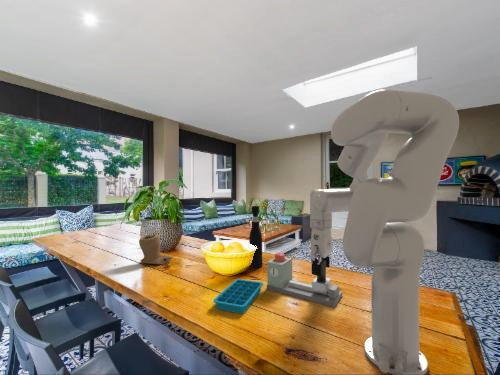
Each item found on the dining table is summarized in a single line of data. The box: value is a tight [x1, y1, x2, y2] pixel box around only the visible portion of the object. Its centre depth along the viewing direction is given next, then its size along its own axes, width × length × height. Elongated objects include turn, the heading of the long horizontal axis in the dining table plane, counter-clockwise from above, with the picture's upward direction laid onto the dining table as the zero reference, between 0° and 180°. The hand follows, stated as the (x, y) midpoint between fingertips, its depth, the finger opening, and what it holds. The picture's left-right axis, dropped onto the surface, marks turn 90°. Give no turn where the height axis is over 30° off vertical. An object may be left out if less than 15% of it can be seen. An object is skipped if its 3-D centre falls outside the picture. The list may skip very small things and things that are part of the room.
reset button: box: [274, 253, 286, 263], centre depth 97 cm, size 4×4×6 cm
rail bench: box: [266, 256, 343, 308], centre depth 91 cm, size 10×26×10 cm, turn 56°
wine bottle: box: [248, 205, 263, 269], centre depth 121 cm, size 6×6×30 cm
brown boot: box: [138, 233, 173, 265], centre depth 128 cm, size 15×12×15 cm
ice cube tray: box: [213, 278, 264, 314], centre depth 87 cm, size 12×20×3 cm, turn 159°
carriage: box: [311, 259, 332, 295], centre depth 87 cm, size 6×5×11 cm
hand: (320, 270), depth 88 cm, fingers open, 9 cm apart
